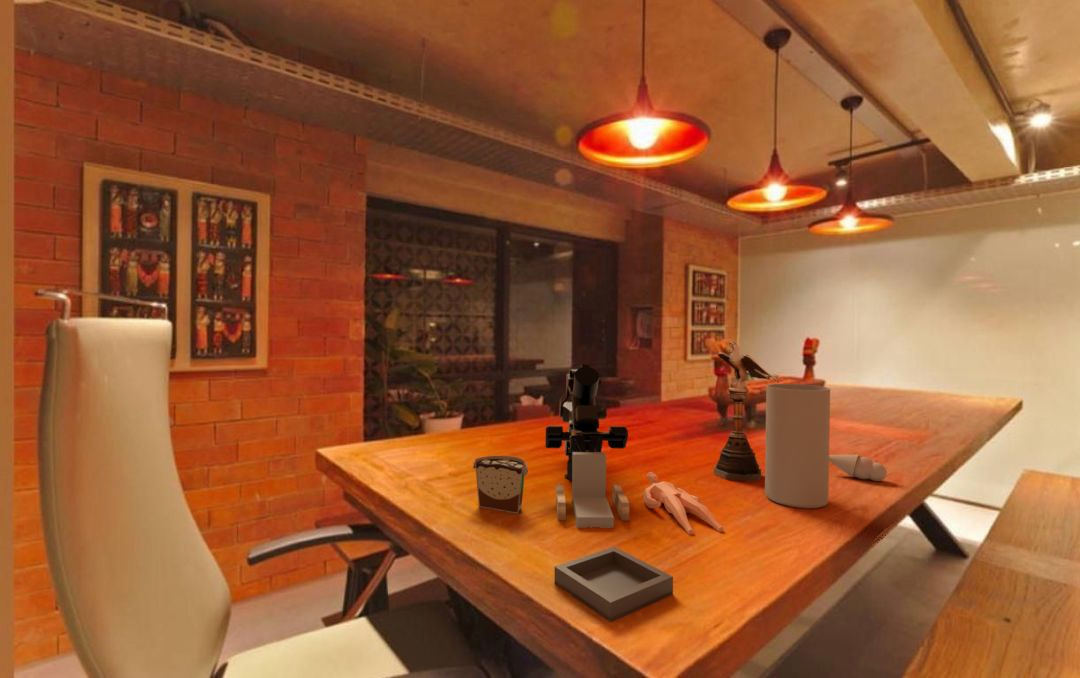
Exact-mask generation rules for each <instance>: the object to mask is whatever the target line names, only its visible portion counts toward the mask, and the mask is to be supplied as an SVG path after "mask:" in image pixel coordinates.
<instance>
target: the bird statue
mask: <svg viewBox="0 0 1080 678" xmlns="http://www.w3.org/2000/svg"><path fill="white" fill-rule="evenodd" d="M728 346H730V347H729V348H728V351H726V353H724V352H719V353H718V354H717V357H719V358H720V359H722V361H724V362H725V363H726V364H728V366H730V367H731V368H732V369H733V370H734V372H733V373H734V376H735V378H734V379H733V380H732V381H730V387H728V388H727V391H728V392H729V394H728V398H729V399H730V400H733V402H732V403H733V415H732V416H731V418H732V419H733V430H731V432H730V433H729V434H728V438H727V440H726V442H725V445H724V446H723V447H722V449H721V451H720V452H719V454H720V455H719V458H718V461H717V463H716V464H715V465H714V466H713V475H715V476H717V477H720V478H722V479H725V480H728V481H736V482H742V483H743V482H744V483H745V482H754V481H761V478H762V469H761V468H760V465H759V464H758V461H757V458H756V452H754V449H752V447H751V444H750V443H749V440H748V435H747V434H746V433H745V432H744V431H743V428H744V427H743V421H744V418H745V416H744V415H743V413H744V410H743V409H744V408H743V407H744V405H743V403H744V401H746V400H748V393H749V391H750V390H749V388H747V384H746V378H747V375H749V377H750V378H751V379H752V378H755V379H759V380H761V379H762V380H770V379H771V378H772V379H773V380H774V381H775V382H777V384H780V381H779V380H778V377H779V375H778V374H775V373H769V372H768V371H767V370H765V369H764V368H763V367H762V366H761V365H760V364H759V363H758V362H757V361H756V360H755V359H754V358H753V357H751V356H750V355H749V354H742V356H741V355H740V347H739V345H738V344H737V343H736V342H734V341H729V342H728ZM731 348H732V351H731Z"/></svg>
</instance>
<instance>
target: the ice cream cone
mask: <svg viewBox="0 0 1080 678" xmlns="http://www.w3.org/2000/svg"><path fill="white" fill-rule="evenodd" d="M829 464H832V465H833V466H835V467H836V468H838V469H840V470H842V472H844V473H846V474H847V475H848V476H850V477H851V478H855V477H856V478H857V479H860V480H871V481H874V482H880V481H881V482H882V481H883V480H885V479H886V477H887V476H888V475H887V474H888V472H887V471H888V470H887V468H886V467H885V466H884V465H883V464H882V463H880V462H876V461H873V460H872V459H870V458H869V457H866V456H860V454H858V453H857V454H829Z"/></svg>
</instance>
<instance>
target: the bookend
mask: <svg viewBox="0 0 1080 678" xmlns="http://www.w3.org/2000/svg"><path fill="white" fill-rule="evenodd" d="M571 484H572V486H571V487H572V492H571V493H572V494H571V495H572V496H571V500H572V501H571V504H572V507H573V514H574V520H575V526H576V528H577V529H578V528H582V529H583V528H585V529H588V528H587V527H590V528H591V529H592V527H600V528H601V529H608V528H609V529H614V528H615V516H614V514H613V512H612V508H611V506H610V504H609V501H608V499H607V495H606V494H607V454H606V452H603V451H601V452H572V481H571ZM590 528H589V529H590ZM600 528H599V529H600Z"/></svg>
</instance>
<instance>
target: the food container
mask: <svg viewBox="0 0 1080 678" xmlns="http://www.w3.org/2000/svg"><path fill="white" fill-rule="evenodd" d="M527 464H528V463H526V460H525V459H523V458H521V457H518V456H512V455H488V456H487V455H486V456H481V457H478V458H475V459H474V462H473V466H472V469H475V477H476V489H477V490H476V491H477V499H478V500H477V501H478V507H479V508H483V509H488V510H493V511H498V512H504V511H505V513H511V514H516V515H519V514H520V513H521V512H522V507H523V506H522V505H523V498H524V497H523V495H524V485H525V476H527V475H528V474H529V470H528V465H527Z"/></svg>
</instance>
